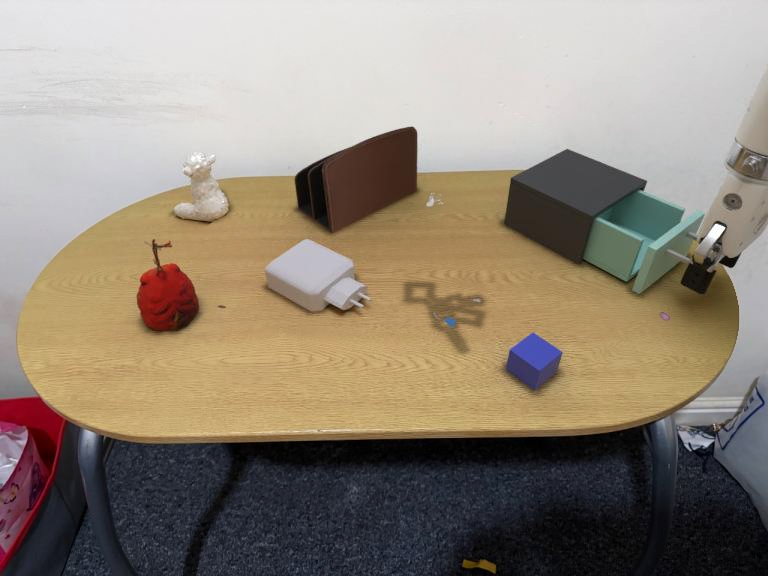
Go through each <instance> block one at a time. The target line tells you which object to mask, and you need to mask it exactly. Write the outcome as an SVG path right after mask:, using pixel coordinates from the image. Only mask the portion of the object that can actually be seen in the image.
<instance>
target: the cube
mask: <svg viewBox="0 0 768 576" xmlns="http://www.w3.org/2000/svg"><path fill="white" fill-rule="evenodd" d="M563 354H564V353H563V351H562V350H560V349H559V348H558V347H556V346H554V345H553V344H551V343H550V342H548V341H547V340H545V339H544V338H543V337H541V336H539V335H538V334H536V332H531V333H530V334H529V335H527V336H526V337H524V339H522V340H520V341H519V342H518V343H516V344H515V345H514V346H513V347H511V348H510V349H509V350H508V356H507V362H506V366H505V367H506V368H505V370H506V371H507V372H509V373H510V374H512V375H513V376H514V377H516V378H517V379H518V380H519V381H521V382H522V383H523V384H525V385H526V386H527V387H529V388H530V389H532V390H533V391H536V390H537V389H539V388H540V387H541V386H542V385H543V384H544V383H546V382H547V381H548V380H549V379H551V378H552V377H553V376H554V375H556V374H557V373H558V371H559V366H560V363H561V361H562V360H561V359H562V357H563Z"/></svg>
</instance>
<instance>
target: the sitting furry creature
mask: <svg viewBox="0 0 768 576" xmlns="http://www.w3.org/2000/svg"><path fill="white" fill-rule="evenodd" d="M185 157H186V159H185V161H184V163H182V164H183V165H182V167H183V168H182V170H183V174H184V175H185V176H187V177H188V178H190V180H189V181H190V185H189V188H190V194H191V196H192V201H193V202H192V203H191V202H180V203H179V204H176V206H174V208H173V212H174V214H175V215H176V216H177V217H179V218H181V219H182V220H184V219H187V220H192V221H199V222H202V221H203V222H208V223H210V222H211V223H212V222H214V221H215V220H219V219H220V218H223V217H224V216H225V215H226V214H228V213H229V206H230V205H229V201H228V198H227V196H226V194H225V193H224V192H223V191H222V189H221V188H220V185H219V183H218V181H217V180H216V178H215V177H213V176H212V175H211V172H212V165H213V164H214V163H215V162H216V155H215V154H209V155H205V153H204V152H202V151H194V152H192V153H189V154H188V155H186V156H185Z"/></svg>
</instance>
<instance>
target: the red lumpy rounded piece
mask: <svg viewBox="0 0 768 576" xmlns="http://www.w3.org/2000/svg"><path fill="white" fill-rule="evenodd" d="M144 243H145V244H147V245H149V247H151V250H152V253H153V256H154V258H153V259H152V261H153V263H154V265H156V267H154V268H150V269H149V270H145V271H144V272H143V273H142V275H141V276H140V277H139V283H140V284H139V287H138V291H137V293H136V304H137V308H138V309H139V311H140V312H139V313H140V317H141V319H142V320H143V322H144V323H145V324H146V325H147V326H148V327H149V328H150V329H153V330H155V331H160V332H164V331H166V332H167V331H175V332H177V331H180V330H182V329H183V330H184V329H185V328H187V327H188V326H189V325H190V323H191V322H192V320H193V319H194V318H195V317H196V315H197V313H198V311H199V307H200V303H199V302H200V301H199V299H198V295H197V293H196V289H195V286H194V283H193V281H192V279H190V278H189V277H188V275H187V274H186V273H185V272H183V271H182V270H181V267H180V266H179V265H178V264H176V263H173V262H170V263H166V264H163V265H161V262H160V258H159V254H158V250H159V251H162V249H164V248H173V245H172V243H171V240H168V241H167V242H166V243H163V244H158V243H157V242H156V239H155V238H153V239H152V240H151V243H149V242H147V241H144Z"/></svg>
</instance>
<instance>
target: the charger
mask: <svg viewBox="0 0 768 576" xmlns="http://www.w3.org/2000/svg"><path fill="white" fill-rule="evenodd" d="M354 265H355V264H354V260H353V259H351V258H349V257H346V256H345V255H343V254H340V253H339V252H336V251H334V250H332V249H330V248H328V247H326V246H323V245H321V244H319V243H318V242H315V241H313V240H312V239H309V238H305V239H303V240H302V241H300V242H299V243H297V244H295V245H294V246H292V247H291V248H289V249H288V250H287V251H284V252H283V253H282V254H280V255H279V256H278V257H276V258H275V259H273V260H271V262H269V263H268V264H267V266H266V267H265V269H264V273H265V278H266V283H267V287H268V288H269V289H271V290H272V291H274V292H276V293H278V294H279V295H281V296H283V297H285V298H287V299H288V300H290V301H291V302H294V303H295V304H297V305H299V306H301V307H302V308H304V309H305V310H308V311H309V312H312V313H313V312H320V311H323V310H324V309H325V308H327V306H329V305H333V306H334V307H337V308H338V309H340V310H343V311H346V310H351V308H353V307H354V306H356V307H358V308H360V309H363V308H364V304H362V303H360V302H359V301H361V300H362V299H364V300H365V301H367V302H371V301H372V298H371V297H370V296H368V295H366V293H367V290H368V288H369V286H367V285H366V284H364V283H361V282H359V281H357V280H356V276H355V275H356V274H355V266H354Z"/></svg>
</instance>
